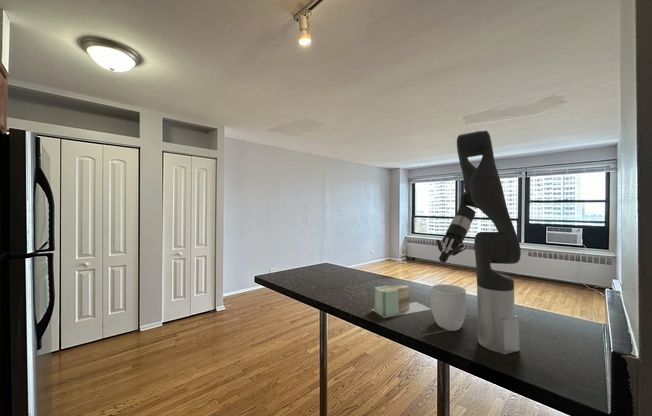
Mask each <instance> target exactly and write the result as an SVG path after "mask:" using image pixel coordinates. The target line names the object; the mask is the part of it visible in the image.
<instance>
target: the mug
mask: <svg viewBox="0 0 652 416" xmlns="http://www.w3.org/2000/svg"><path fill="white" fill-rule="evenodd" d="M466 292H467V291H466V289H465V288H464V287H462V286H458V285H455V284H454V285H453V284H444V283H442V284H441V283H439V284H433V285H432V286H430V306H431V307H430V309H431V311H432V312H431V313H432V316H433V319H434V321H435V323H436V325H437V326H438V327H440V328H442V329H444V330H445V331H449V332H451V331H452V332H455V331H458V330H460V329H461V328H462V326H463V324H464V322H465V317H466V313H467V306H468V300H467V293H466Z"/></svg>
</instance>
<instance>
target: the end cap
mask: <svg viewBox="0 0 652 416" xmlns="http://www.w3.org/2000/svg"><path fill="white" fill-rule="evenodd" d="M390 286H391V285H383V286H375V287H374V288H373V294H374V297H373V298H374V299H373V300H374V301H373V302H374V308H373V309H375V311H377V312H378V313H380V314H381V315H383V316H388V315H394V314H399V302H398V290H397V289H396V290H388V291H383V290H381V289H379V288H382V287H390Z"/></svg>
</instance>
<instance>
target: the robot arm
mask: <svg viewBox="0 0 652 416" xmlns="http://www.w3.org/2000/svg"><path fill="white" fill-rule="evenodd" d="M456 149H457V150H456V151H457V155H458V156H457V157H458V161H459V165H460V170H461V172H462V177H463V178H462V179H463V180H462V181H463V192H462V193H461V195H460V201H459V207H458V211H457V212H456V213H455V216H454V217H453V219H452V220H451V222H450V224H449V225H448V227H447V230H446V231H445V235H444V236H443V237H442V239H436V244H437V245H436V246H437V249H438V251H439V252H440V256H439V257H438V259H439V261H440V263H443V264H445V263H446V262H447V261H448V259H449V257H451V256H453V257H455V256H456V255H458V254H459V253H461V252H463V251H465V250H467V249H466V246H465V245H464V244H463V243H464V240H465V238H466V236H467V234H468V233H469V231H470V228H471V224H472V223H473V220H474V218H475V216H476V211H475V210H474V209H479V211H481V212H482V213H483V214H484V215H485V216H486V217H487V218H488V219H489V220H491V222H492V223H493V225H494V227H495V228H496V231H479V232H477V233H476V234H475V237H474V243H473V245H474V255H475V269H476V271H475V272H476V301H477V302H476V303H477V304H476V305H477V334H478V335H477V336H478V344H479V345H480V346H481V347H483V348H485V349H487V350H489V351H492V352H495V353H500V354H502V355H509V354H512V353H516V352H519V351H520V326H519V325H520V322H519V319H520V318H519V316H517V315H516V311H515V310H516V308H515V282H514V279H513V278H512V277H511V276H509V275H506V274H503V273H500V272H497V271H495V270H494V269H492V265H491V264H499V265H500V264H502V265H503V264H504V265H510V264H511V265H513V264H518V263H519V261H520V260H521V253H522V252H521V250H522V249H521V244H520V241H519V238H518V235H517V232H516V230H515V227H514V224H513V221H512V218H511V216H510V213H509V211H508V207H507V202H506V197H505V195H504V190H503V186H502V185H503V184H502V182H501V178H500V175H499V172H498V169H497V165H496V160H495V155H494V149H493V143H492V138H491V135H490V133H489V132H488V130H486V129H479V130H473V131H469V132H464V133H461V134H458V136H457V138H456ZM478 156H481V157H482V158H481V160H480V161H479V164H478V166H477V167H476V166H475V165H474V164H472V162H471V161H470V160H469V158H472V157H478ZM473 208H474V209H473Z"/></svg>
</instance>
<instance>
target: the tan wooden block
mask: <svg viewBox="0 0 652 416" xmlns="http://www.w3.org/2000/svg"><path fill="white" fill-rule="evenodd" d="M389 286H390V287H382V288H379V289H381V290H383V291H388V290H396V289H397V290H398V302H399V311H404V310H410V308H409V303H410V286H408V285H405V284H399V285H398V284H397V285H389Z"/></svg>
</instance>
